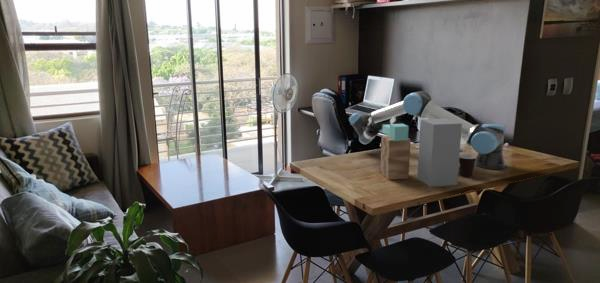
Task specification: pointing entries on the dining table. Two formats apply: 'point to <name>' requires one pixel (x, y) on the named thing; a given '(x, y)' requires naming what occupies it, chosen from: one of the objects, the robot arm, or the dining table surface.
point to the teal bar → (396, 131)
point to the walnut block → (395, 158)
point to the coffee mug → (466, 165)
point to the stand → (439, 152)
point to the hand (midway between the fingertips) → (383, 118)
